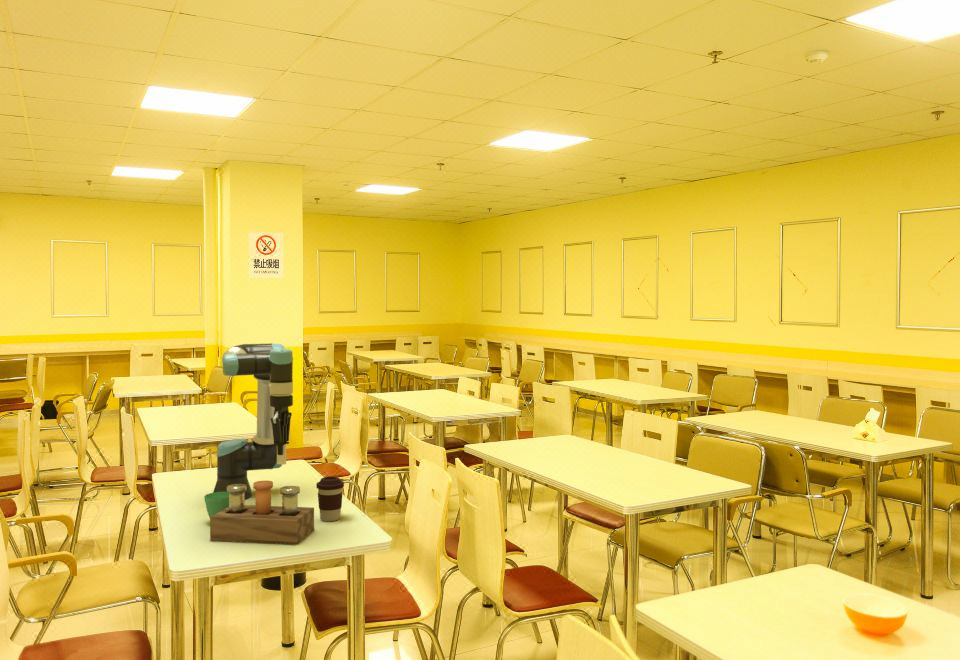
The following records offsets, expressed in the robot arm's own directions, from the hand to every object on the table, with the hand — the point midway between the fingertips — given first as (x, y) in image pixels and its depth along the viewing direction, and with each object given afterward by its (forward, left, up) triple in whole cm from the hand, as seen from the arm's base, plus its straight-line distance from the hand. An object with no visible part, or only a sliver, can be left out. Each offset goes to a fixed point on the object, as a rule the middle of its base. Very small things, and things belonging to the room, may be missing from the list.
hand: (281, 463), depth 244 cm
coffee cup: (-22, +10, -25) cm, 35 cm away
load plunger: (0, -6, -17) cm, 18 cm away
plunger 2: (0, +3, -19) cm, 19 cm away
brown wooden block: (0, -6, -25) cm, 26 cm away
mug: (-14, -27, -25) cm, 40 cm away
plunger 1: (0, -16, -19) cm, 25 cm away
